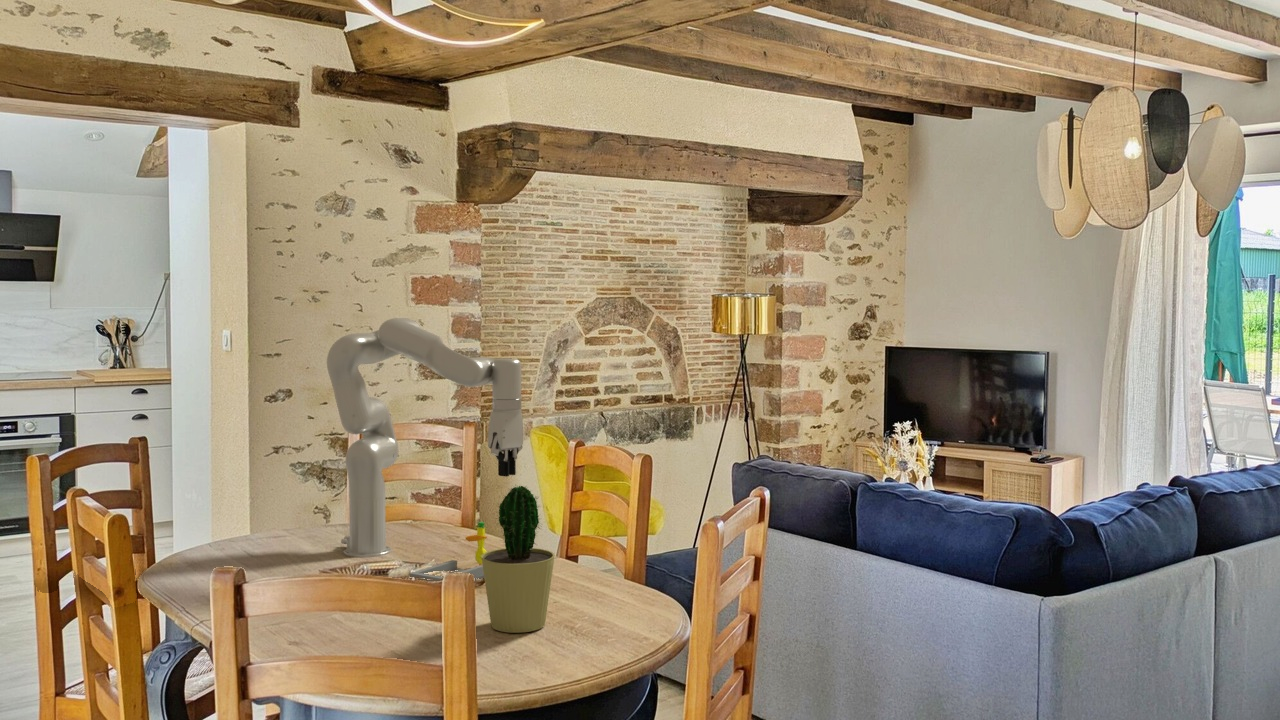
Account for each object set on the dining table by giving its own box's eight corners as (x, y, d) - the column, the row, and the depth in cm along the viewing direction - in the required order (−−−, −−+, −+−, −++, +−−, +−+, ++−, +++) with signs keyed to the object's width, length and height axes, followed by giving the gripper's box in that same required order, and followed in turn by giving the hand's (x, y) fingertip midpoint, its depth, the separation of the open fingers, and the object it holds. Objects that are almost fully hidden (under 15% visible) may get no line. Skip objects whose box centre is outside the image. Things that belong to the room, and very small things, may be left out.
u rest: (407, 585, 254) (407, 573, 254) (451, 571, 268) (451, 559, 268) (446, 592, 248) (446, 579, 248) (488, 577, 262) (488, 565, 262)
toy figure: (468, 572, 268) (468, 525, 267) (463, 569, 271) (463, 522, 270) (493, 568, 271) (493, 522, 270) (487, 566, 274) (487, 520, 274)
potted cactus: (511, 610, 233) (510, 475, 232) (568, 621, 225) (569, 481, 224) (465, 628, 220) (465, 485, 219) (525, 640, 212) (525, 491, 211)
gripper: (513, 402, 286) (513, 470, 286) (476, 407, 272) (476, 478, 273) (536, 404, 282) (536, 472, 283) (499, 408, 268) (499, 480, 269)
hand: (506, 474), depth 278 cm, fingers closed
